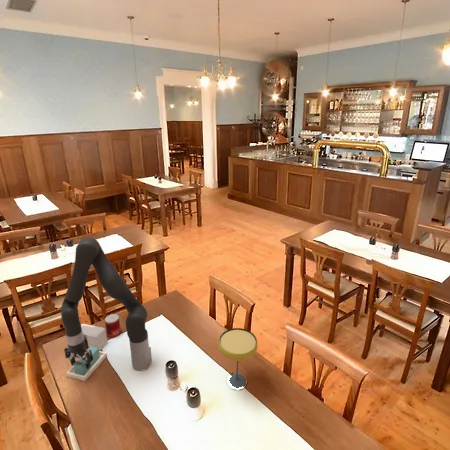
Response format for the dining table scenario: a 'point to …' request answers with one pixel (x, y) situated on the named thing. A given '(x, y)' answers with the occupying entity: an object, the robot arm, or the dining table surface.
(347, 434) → the dining table surface
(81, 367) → the teal box
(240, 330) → the cocktail glass
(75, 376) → the tray
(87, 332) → the box
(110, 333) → the canned food
